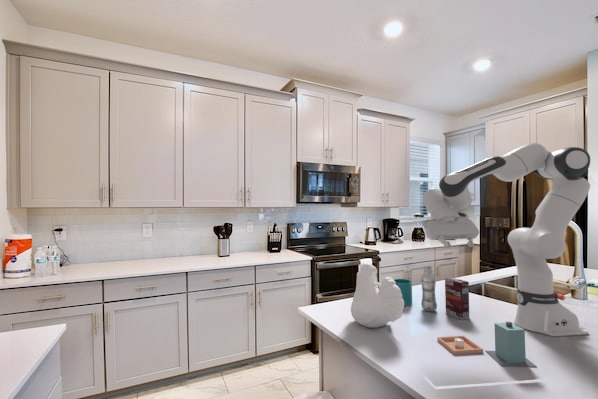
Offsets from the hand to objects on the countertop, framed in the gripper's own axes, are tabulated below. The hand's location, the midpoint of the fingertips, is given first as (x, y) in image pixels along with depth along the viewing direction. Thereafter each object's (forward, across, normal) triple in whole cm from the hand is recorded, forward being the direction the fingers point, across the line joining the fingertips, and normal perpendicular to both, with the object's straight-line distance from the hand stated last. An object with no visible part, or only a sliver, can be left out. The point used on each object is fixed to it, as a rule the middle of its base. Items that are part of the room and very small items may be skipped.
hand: (460, 246), depth 113 cm
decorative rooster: (+17, -30, +31) cm, 46 cm away
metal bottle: (+6, 0, +41) cm, 42 cm away
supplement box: (+12, +9, +36) cm, 39 cm away
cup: (-2, -9, +49) cm, 50 cm away
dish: (+31, -8, +16) cm, 36 cm away
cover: (+37, +3, +9) cm, 38 cm away
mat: (+37, +3, +10) cm, 39 cm away
